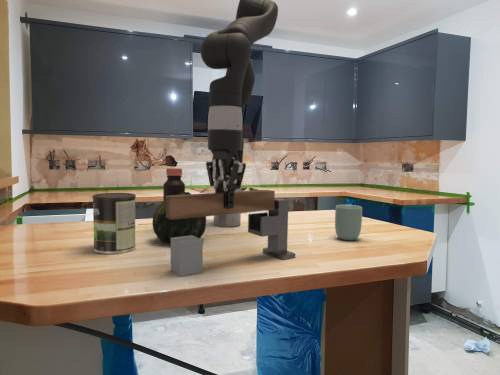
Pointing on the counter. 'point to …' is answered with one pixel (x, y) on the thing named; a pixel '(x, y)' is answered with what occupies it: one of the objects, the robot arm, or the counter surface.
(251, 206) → the rail
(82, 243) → the counter surface
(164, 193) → the bottle
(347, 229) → the cup
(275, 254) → the bracket
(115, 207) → the coffee can
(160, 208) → the squash
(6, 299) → the counter surface
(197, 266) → the rest block
